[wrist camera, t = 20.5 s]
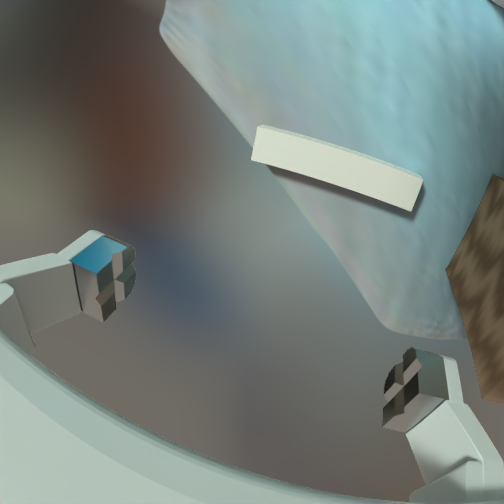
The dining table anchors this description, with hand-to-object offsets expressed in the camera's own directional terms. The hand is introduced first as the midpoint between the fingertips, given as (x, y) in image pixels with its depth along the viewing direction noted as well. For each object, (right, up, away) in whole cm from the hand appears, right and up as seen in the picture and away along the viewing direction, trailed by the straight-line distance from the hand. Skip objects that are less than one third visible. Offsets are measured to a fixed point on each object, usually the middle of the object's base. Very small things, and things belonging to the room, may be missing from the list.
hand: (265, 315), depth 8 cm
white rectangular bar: (+12, +15, +35) cm, 40 cm away
